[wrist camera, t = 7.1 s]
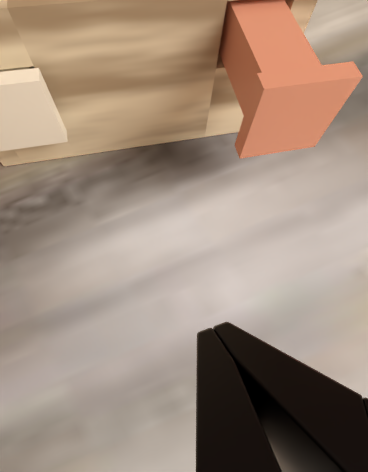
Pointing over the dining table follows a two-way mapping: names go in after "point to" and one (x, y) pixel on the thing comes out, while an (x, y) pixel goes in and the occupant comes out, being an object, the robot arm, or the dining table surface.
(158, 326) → the dining table surface
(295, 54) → the terracotta plug
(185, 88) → the socket block
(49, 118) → the cream plug
